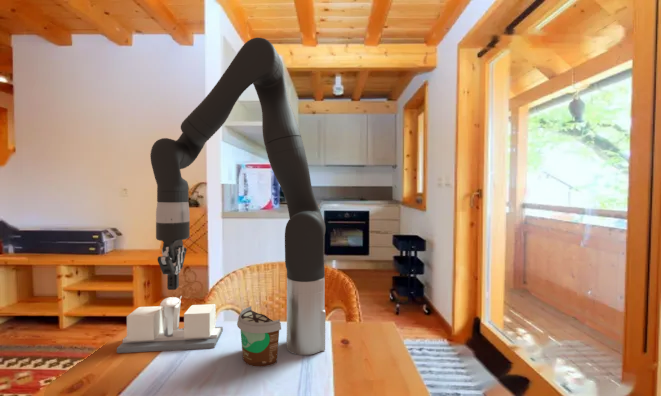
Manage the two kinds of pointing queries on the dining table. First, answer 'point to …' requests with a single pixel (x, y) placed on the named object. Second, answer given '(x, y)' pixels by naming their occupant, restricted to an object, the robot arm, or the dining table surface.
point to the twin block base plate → (195, 335)
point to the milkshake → (170, 316)
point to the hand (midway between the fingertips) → (173, 288)
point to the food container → (258, 338)
